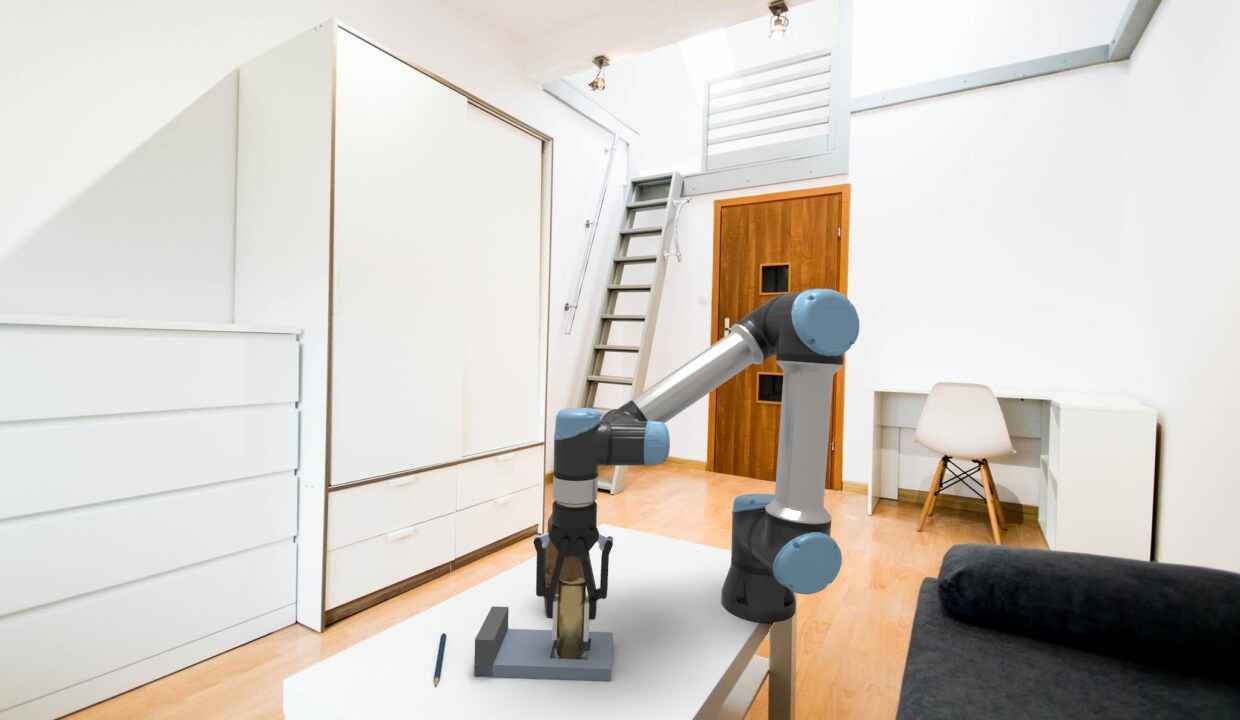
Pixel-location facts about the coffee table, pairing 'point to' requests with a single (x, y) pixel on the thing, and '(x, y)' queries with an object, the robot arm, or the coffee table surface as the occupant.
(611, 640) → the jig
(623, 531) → the coffee table surface
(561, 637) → the brass cylinder rod
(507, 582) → the coffee table surface
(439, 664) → the pencil
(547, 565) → the block
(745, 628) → the coffee table surface
